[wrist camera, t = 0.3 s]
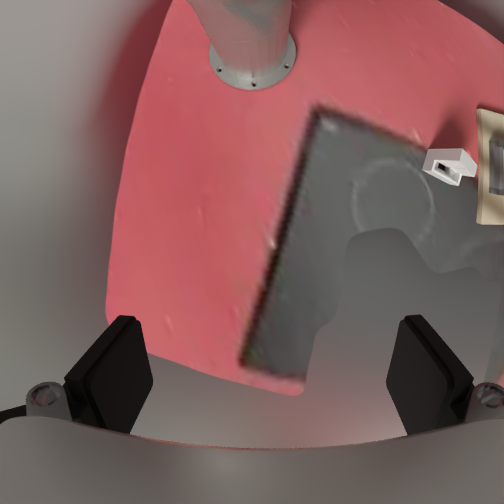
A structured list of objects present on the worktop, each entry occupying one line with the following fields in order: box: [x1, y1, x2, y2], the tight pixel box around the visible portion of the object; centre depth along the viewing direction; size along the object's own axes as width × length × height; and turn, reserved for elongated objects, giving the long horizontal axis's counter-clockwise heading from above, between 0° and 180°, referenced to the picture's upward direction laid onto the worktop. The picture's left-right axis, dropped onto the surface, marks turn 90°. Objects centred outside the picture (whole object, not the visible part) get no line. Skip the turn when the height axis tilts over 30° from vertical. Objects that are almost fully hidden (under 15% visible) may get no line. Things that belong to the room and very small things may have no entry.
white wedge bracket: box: [422, 148, 477, 186], centre depth 37 cm, size 4×10×9 cm
